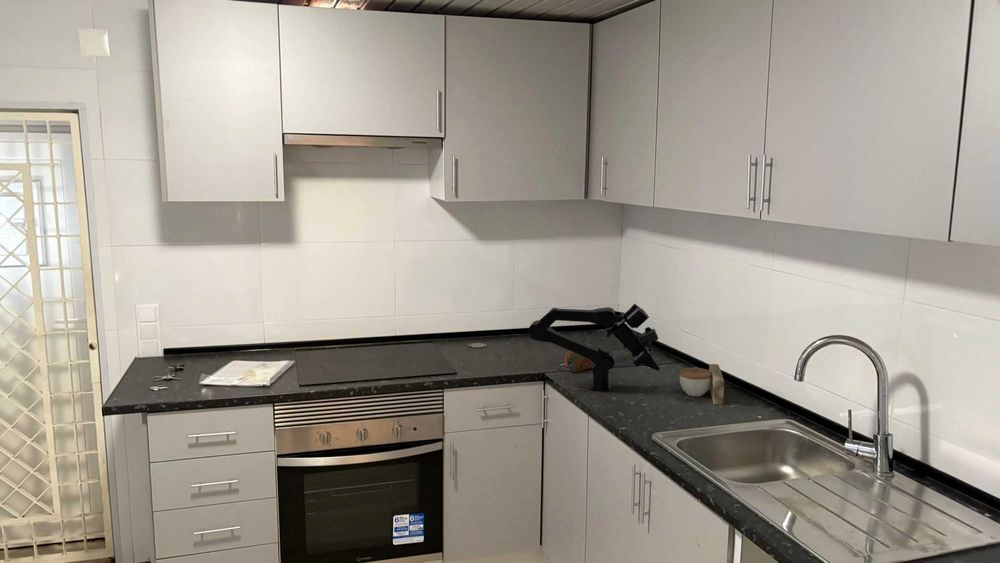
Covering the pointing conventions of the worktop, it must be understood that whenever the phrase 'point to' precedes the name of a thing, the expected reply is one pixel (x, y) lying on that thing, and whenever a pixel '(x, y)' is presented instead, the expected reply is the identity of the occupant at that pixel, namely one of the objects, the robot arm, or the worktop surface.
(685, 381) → the lidded jar
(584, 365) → the tin
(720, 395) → the birch board
